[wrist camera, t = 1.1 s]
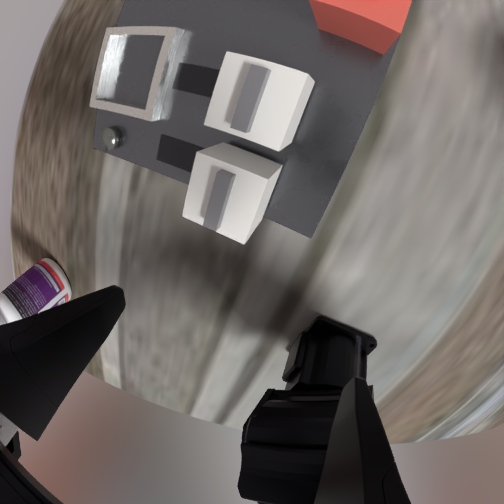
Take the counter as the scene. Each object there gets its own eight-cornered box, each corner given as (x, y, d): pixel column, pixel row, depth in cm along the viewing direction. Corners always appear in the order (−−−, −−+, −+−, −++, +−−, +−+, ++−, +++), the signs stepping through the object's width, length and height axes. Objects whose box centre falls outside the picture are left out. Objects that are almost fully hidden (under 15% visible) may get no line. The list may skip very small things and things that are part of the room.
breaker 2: (282, 165, 16) (265, 182, 12) (261, 220, 18) (240, 249, 15) (223, 142, 16) (190, 153, 13) (208, 196, 18) (176, 220, 15)
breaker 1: (315, 81, 13) (306, 72, 9) (291, 142, 15) (275, 153, 12) (249, 61, 13) (221, 49, 10) (229, 120, 15) (198, 125, 12)
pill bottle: (39, 250, 34) (-22, 299, 22) (65, 262, 32) (-4, 321, 21) (54, 289, 38) (1, 338, 27) (80, 304, 37) (23, 362, 25)
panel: (413, -13, 8) (421, -25, 6) (313, 230, 19) (309, 245, 17) (158, -51, 10) (143, -58, 8) (102, 144, 21) (84, 150, 19)
